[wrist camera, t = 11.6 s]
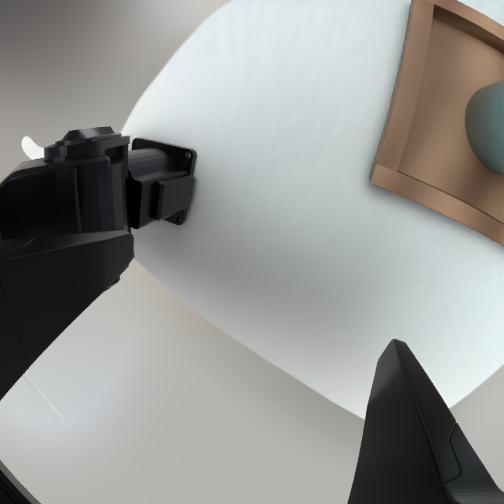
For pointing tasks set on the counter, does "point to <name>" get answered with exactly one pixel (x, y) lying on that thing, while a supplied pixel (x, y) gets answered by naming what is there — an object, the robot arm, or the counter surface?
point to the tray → (443, 116)
